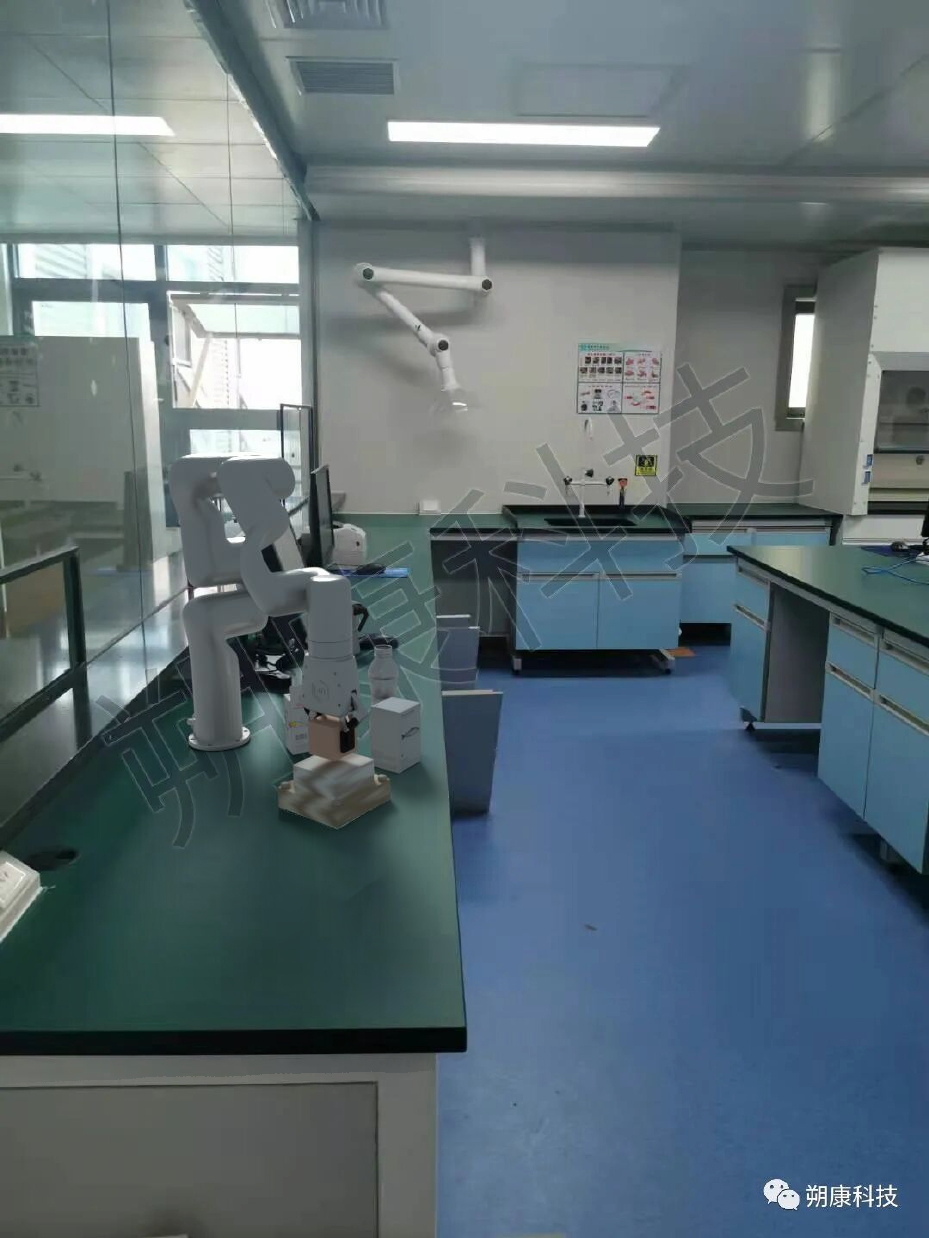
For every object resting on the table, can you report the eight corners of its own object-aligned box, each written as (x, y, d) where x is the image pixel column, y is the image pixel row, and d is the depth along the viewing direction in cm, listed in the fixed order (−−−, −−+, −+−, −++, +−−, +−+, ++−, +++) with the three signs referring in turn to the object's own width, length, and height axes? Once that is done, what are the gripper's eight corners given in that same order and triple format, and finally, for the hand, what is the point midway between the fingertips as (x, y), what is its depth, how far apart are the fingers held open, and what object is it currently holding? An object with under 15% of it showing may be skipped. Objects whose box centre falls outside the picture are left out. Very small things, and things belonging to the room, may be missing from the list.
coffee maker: (319, 651, 243) (317, 591, 239) (340, 645, 250) (339, 586, 246) (358, 660, 235) (356, 598, 231) (378, 653, 242) (377, 592, 238)
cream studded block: (278, 808, 148) (276, 766, 146) (332, 780, 159) (331, 740, 157) (337, 830, 140) (336, 786, 138) (390, 799, 151) (389, 758, 149)
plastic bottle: (395, 743, 177) (394, 652, 172) (365, 740, 178) (363, 650, 173) (403, 732, 183) (403, 644, 178) (374, 729, 184) (372, 642, 180)
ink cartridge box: (324, 740, 178) (322, 674, 175) (332, 748, 174) (330, 680, 171) (285, 746, 174) (282, 679, 171) (291, 755, 170) (288, 686, 167)
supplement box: (399, 774, 162) (399, 713, 159) (369, 765, 166) (368, 705, 163) (421, 761, 168) (421, 702, 165) (392, 753, 172) (391, 695, 169)
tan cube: (309, 753, 146) (307, 721, 145) (332, 742, 151) (331, 711, 150) (334, 761, 143) (333, 728, 142) (357, 750, 148) (356, 718, 146)
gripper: (278, 644, 144) (282, 742, 148) (354, 661, 135) (356, 765, 139) (309, 635, 150) (312, 729, 155) (383, 650, 141) (385, 750, 145)
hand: (333, 745), depth 147 cm, fingers closed on tan cube, 5 cm apart
